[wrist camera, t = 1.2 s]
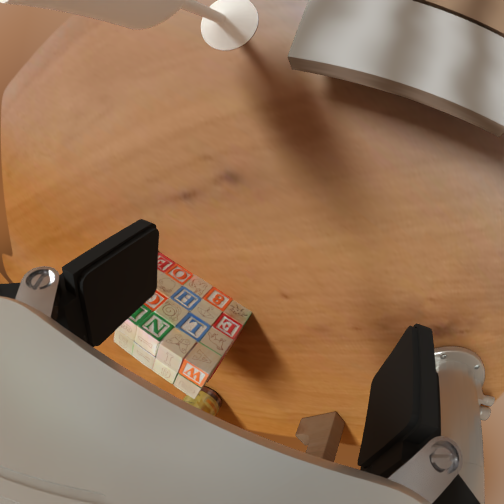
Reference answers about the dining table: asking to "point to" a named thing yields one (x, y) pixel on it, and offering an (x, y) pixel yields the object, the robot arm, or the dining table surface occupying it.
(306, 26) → the grey plank
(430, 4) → the walnut floor strip
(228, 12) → the champagne flute
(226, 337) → the stack of blocks
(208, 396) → the sauce bottle
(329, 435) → the wooden block
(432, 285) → the dining table surface
